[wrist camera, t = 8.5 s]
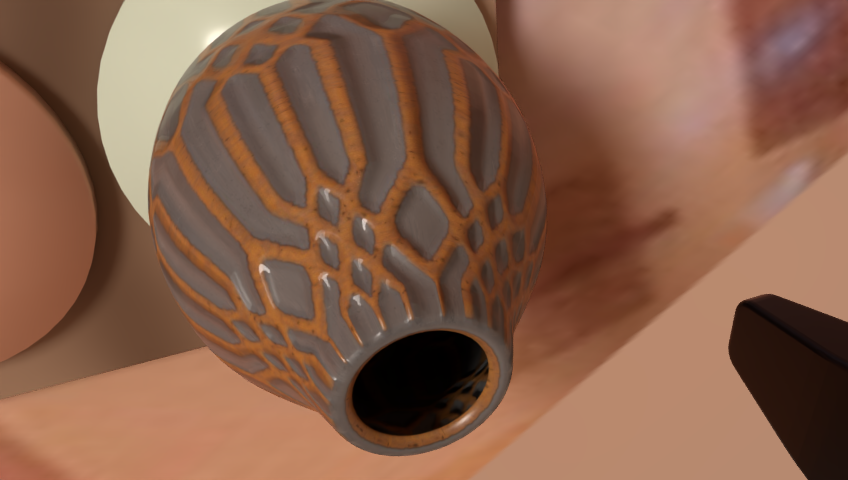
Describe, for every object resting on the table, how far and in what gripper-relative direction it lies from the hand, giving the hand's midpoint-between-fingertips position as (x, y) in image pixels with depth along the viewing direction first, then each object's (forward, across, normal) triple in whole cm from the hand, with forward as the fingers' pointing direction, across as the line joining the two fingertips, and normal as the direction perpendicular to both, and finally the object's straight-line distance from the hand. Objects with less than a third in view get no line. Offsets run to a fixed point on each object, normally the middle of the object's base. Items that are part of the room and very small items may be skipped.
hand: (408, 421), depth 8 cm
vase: (+9, 0, 0) cm, 9 cm away
